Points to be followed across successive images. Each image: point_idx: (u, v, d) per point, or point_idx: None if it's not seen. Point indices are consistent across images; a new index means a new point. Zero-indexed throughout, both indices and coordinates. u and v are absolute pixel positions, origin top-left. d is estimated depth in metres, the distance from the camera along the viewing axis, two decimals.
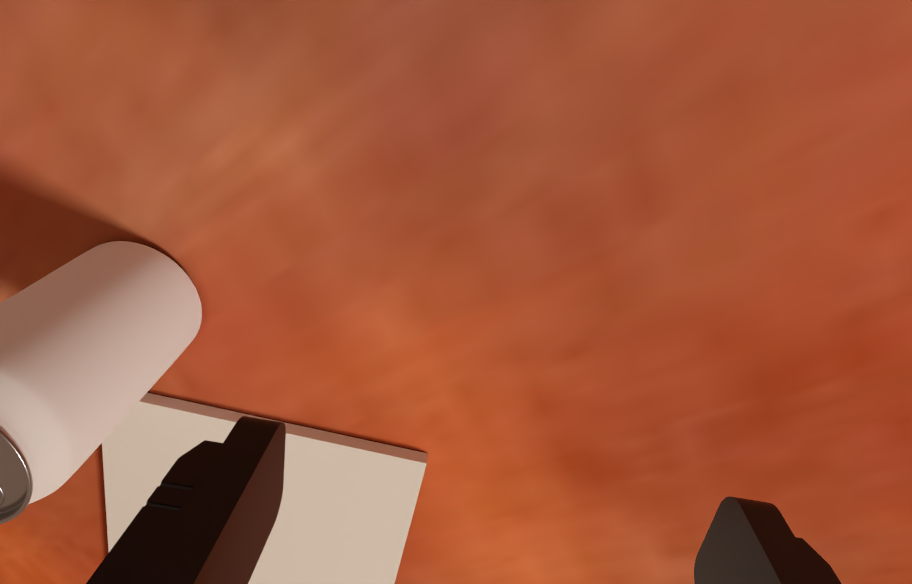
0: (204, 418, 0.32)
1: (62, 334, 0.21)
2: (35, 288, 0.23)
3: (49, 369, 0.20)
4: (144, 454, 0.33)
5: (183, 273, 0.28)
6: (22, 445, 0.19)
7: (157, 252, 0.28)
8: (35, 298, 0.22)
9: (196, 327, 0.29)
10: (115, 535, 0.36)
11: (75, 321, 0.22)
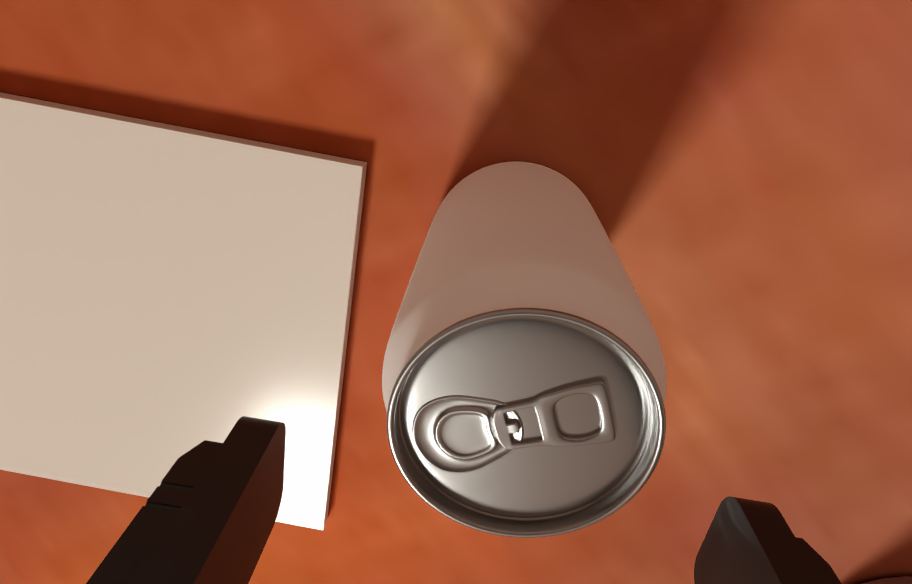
0: (342, 305, 0.24)
1: None
2: None
3: None
4: (257, 211, 0.22)
5: None
6: (551, 522, 0.13)
7: None
8: None
9: None
10: (64, 123, 0.21)
11: None
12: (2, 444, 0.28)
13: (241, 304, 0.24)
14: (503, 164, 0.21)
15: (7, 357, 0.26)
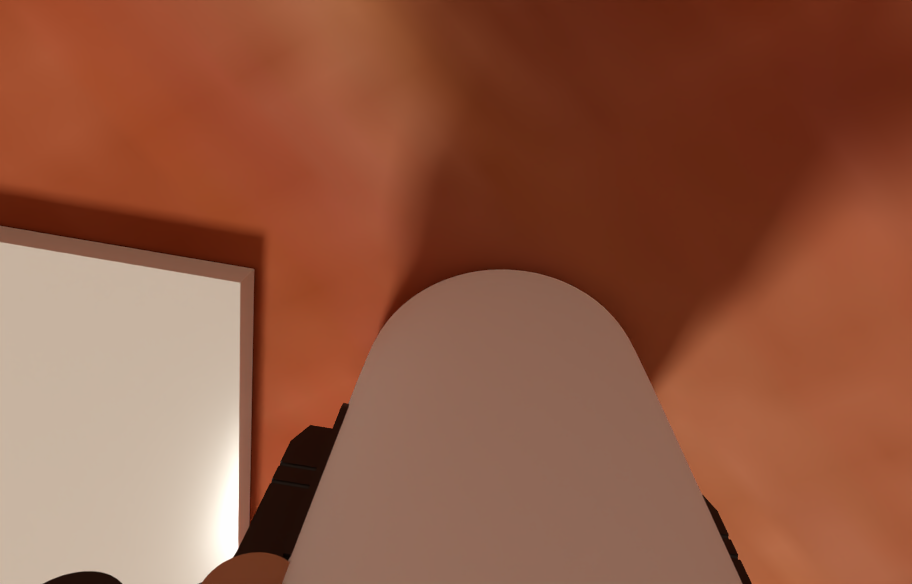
0: (230, 487, 0.15)
1: None
2: None
3: None
4: (75, 351, 0.13)
5: None
6: None
7: None
8: None
9: None
10: None
11: None
12: None
13: (72, 485, 0.15)
14: (478, 278, 0.12)
15: None
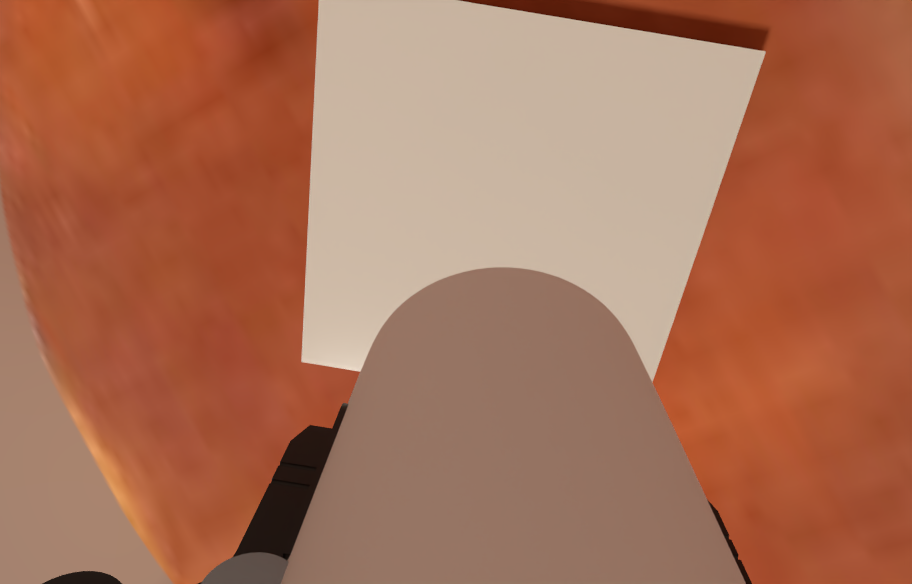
0: (713, 189, 0.26)
1: None
2: None
3: None
4: (654, 98, 0.24)
5: None
6: None
7: None
8: None
9: None
10: (491, 20, 0.24)
11: None
12: (349, 342, 0.30)
13: (616, 192, 0.26)
14: (478, 276, 0.12)
15: (376, 254, 0.28)
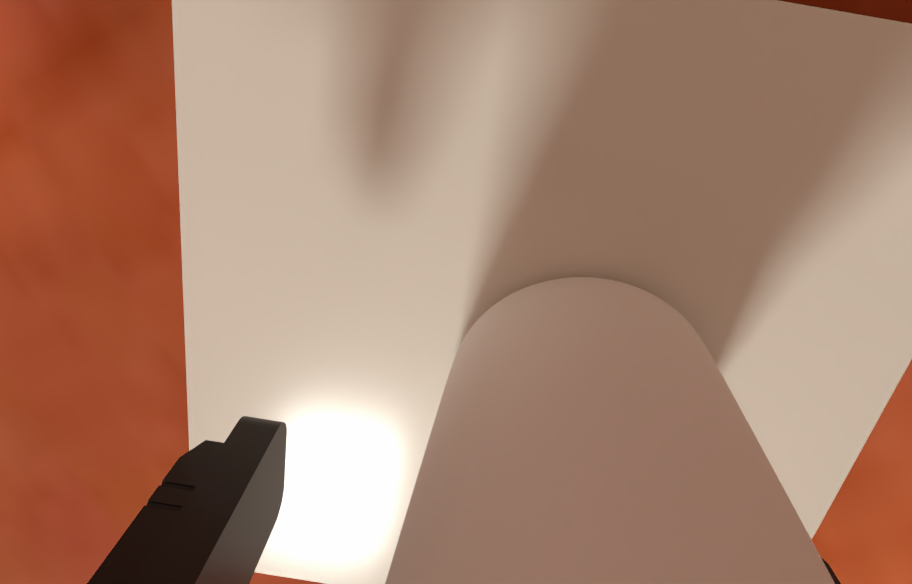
0: None
1: None
2: None
3: None
4: (840, 144, 0.12)
5: None
6: None
7: None
8: None
9: None
10: None
11: None
12: (270, 536, 0.18)
13: (747, 312, 0.14)
14: (569, 284, 0.13)
15: (309, 406, 0.16)
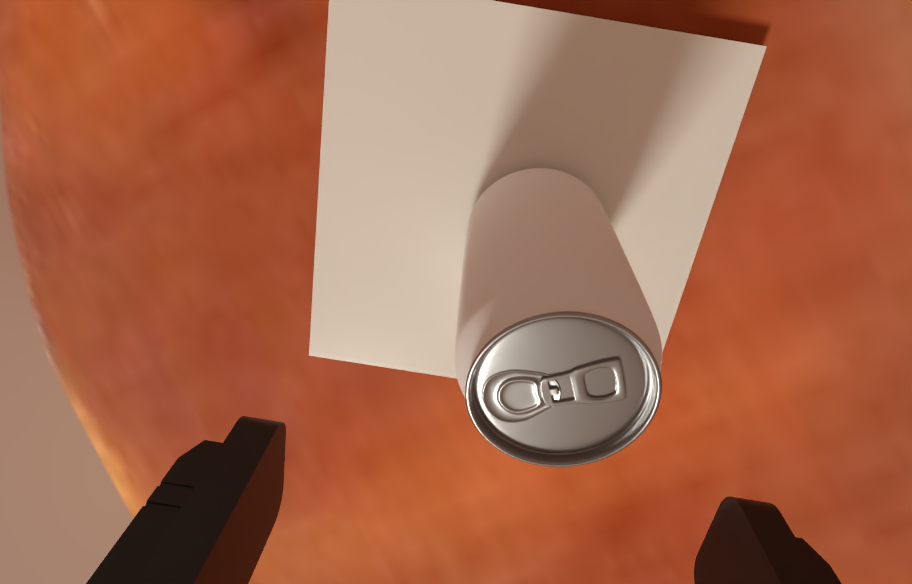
0: (715, 181, 0.26)
1: None
2: None
3: None
4: (659, 92, 0.25)
5: None
6: (578, 456, 0.18)
7: None
8: None
9: None
10: (499, 15, 0.24)
11: None
12: (356, 335, 0.30)
13: (621, 185, 0.27)
14: (530, 171, 0.25)
15: (384, 247, 0.28)
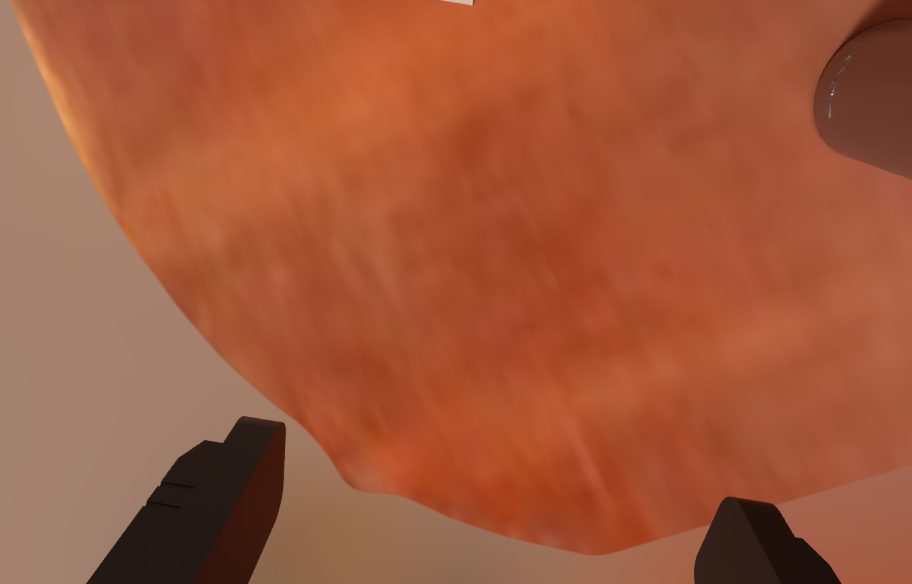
0: None
1: None
2: None
3: None
4: None
5: None
6: None
7: None
8: None
9: None
10: None
11: None
12: None
13: None
14: None
15: None
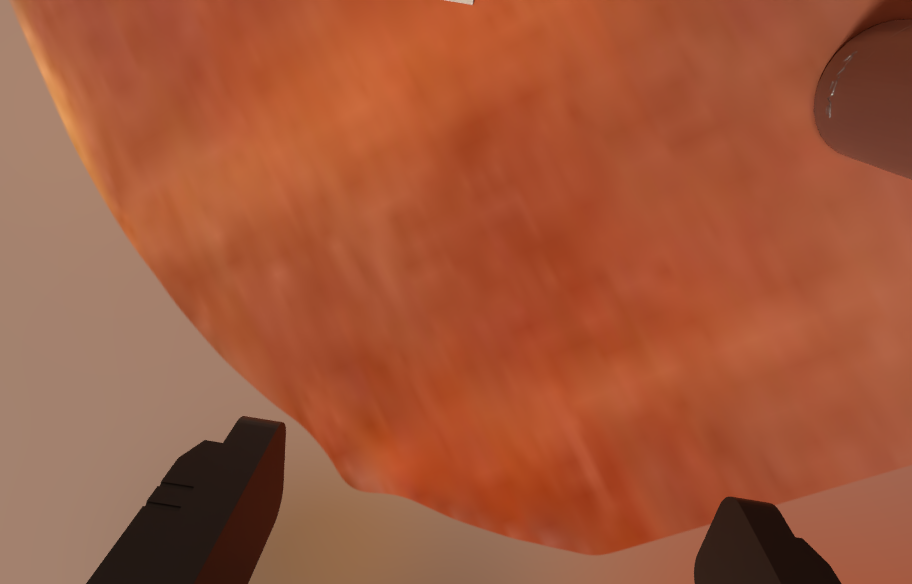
0: None
1: None
2: None
3: None
4: None
5: None
6: None
7: None
8: None
9: None
10: None
11: None
12: None
13: None
14: None
15: None
